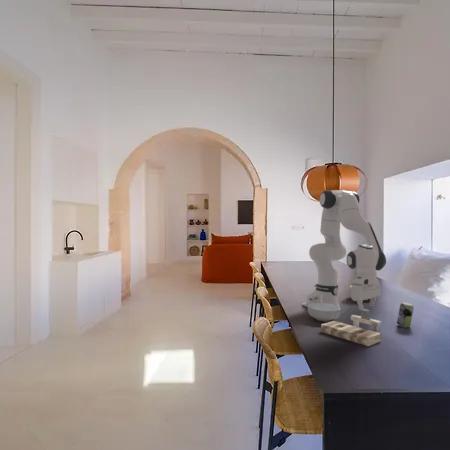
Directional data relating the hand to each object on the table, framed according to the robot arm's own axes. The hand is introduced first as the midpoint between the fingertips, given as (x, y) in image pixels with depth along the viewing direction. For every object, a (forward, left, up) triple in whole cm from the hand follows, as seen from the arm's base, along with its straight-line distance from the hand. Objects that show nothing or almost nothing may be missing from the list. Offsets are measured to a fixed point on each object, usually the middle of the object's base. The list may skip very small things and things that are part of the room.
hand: (366, 308), depth 168 cm
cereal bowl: (-25, 0, -11) cm, 27 cm away
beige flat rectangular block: (-1, -13, -11) cm, 17 cm away
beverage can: (+7, +22, -11) cm, 26 cm away
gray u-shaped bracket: (-1, 0, -11) cm, 11 cm away
